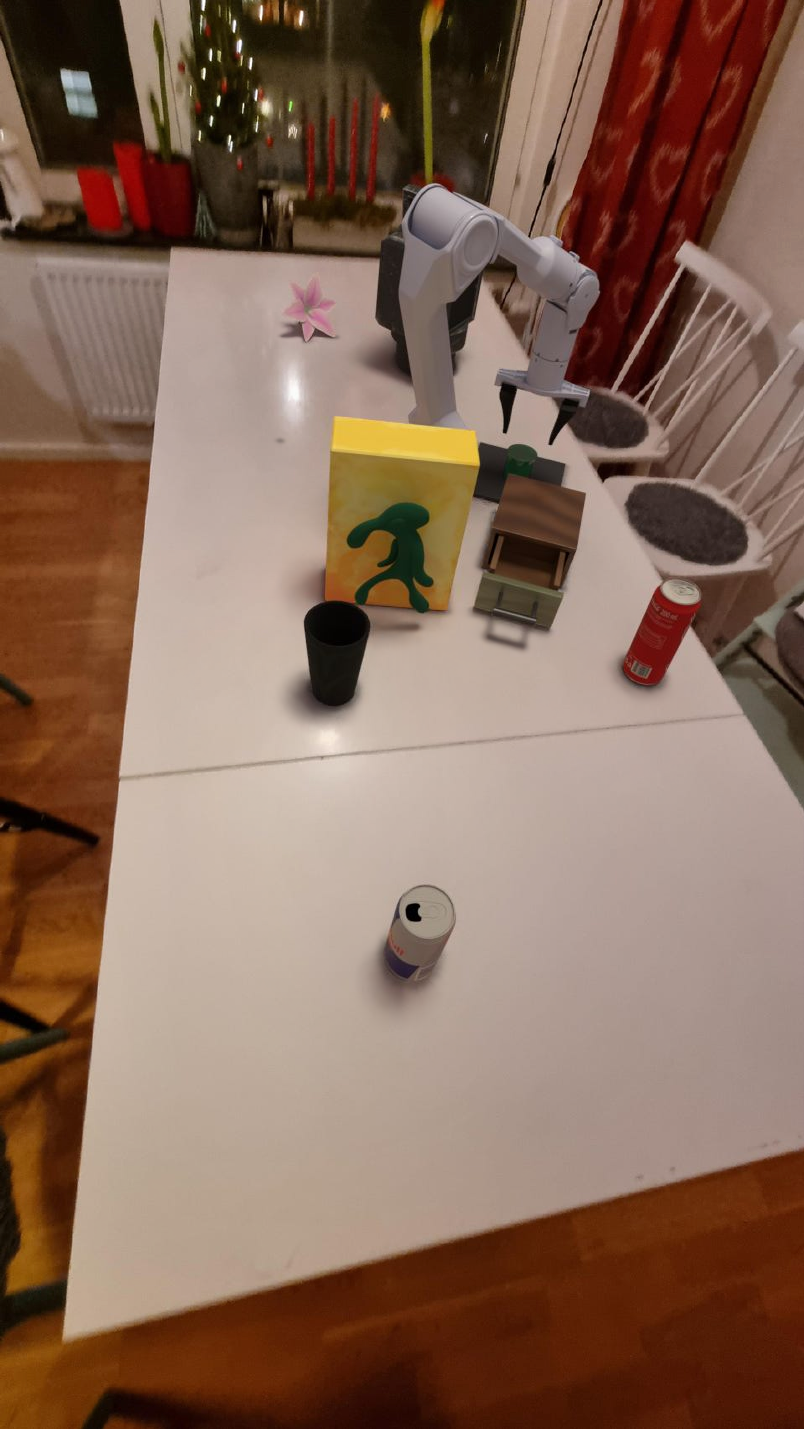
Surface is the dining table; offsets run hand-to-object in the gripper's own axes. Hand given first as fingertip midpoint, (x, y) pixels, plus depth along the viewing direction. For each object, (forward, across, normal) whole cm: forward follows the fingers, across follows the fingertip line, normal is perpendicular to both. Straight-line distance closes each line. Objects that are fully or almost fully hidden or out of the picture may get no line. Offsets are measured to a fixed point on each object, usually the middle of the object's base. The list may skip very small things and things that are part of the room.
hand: (528, 436), depth 114 cm
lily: (+9, +50, -35) cm, 62 cm away
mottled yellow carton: (+9, +13, +37) cm, 40 cm away
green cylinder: (+8, 0, -1) cm, 8 cm away
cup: (+9, +15, +55) cm, 58 cm away
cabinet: (+9, -5, +17) cm, 20 cm away
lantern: (+9, +25, -32) cm, 42 cm away
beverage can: (+9, -24, +37) cm, 45 cm away
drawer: (+8, -5, +30) cm, 31 cm away
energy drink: (+9, -3, +85) cm, 86 cm away
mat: (+9, 0, -1) cm, 9 cm away
